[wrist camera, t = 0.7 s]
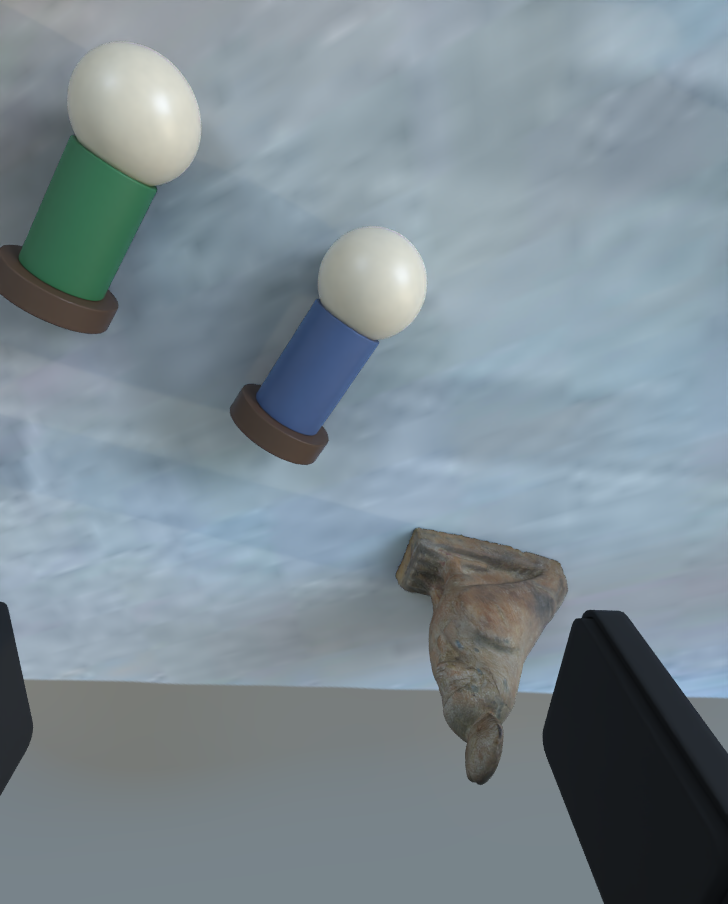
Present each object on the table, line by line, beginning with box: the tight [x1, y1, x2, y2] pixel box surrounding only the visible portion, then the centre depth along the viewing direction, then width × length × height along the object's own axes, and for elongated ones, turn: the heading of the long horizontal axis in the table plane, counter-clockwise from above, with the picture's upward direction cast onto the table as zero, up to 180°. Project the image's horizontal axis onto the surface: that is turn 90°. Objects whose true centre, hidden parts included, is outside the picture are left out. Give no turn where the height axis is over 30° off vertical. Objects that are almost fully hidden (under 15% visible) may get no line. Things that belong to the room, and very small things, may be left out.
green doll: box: [0, 41, 201, 334], centre depth 26 cm, size 13×6×6 cm, turn 146°
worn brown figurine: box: [396, 528, 568, 785], centre depth 32 cm, size 12×6×18 cm, turn 67°
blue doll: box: [230, 226, 427, 465], centre depth 30 cm, size 13×6×6 cm, turn 146°
